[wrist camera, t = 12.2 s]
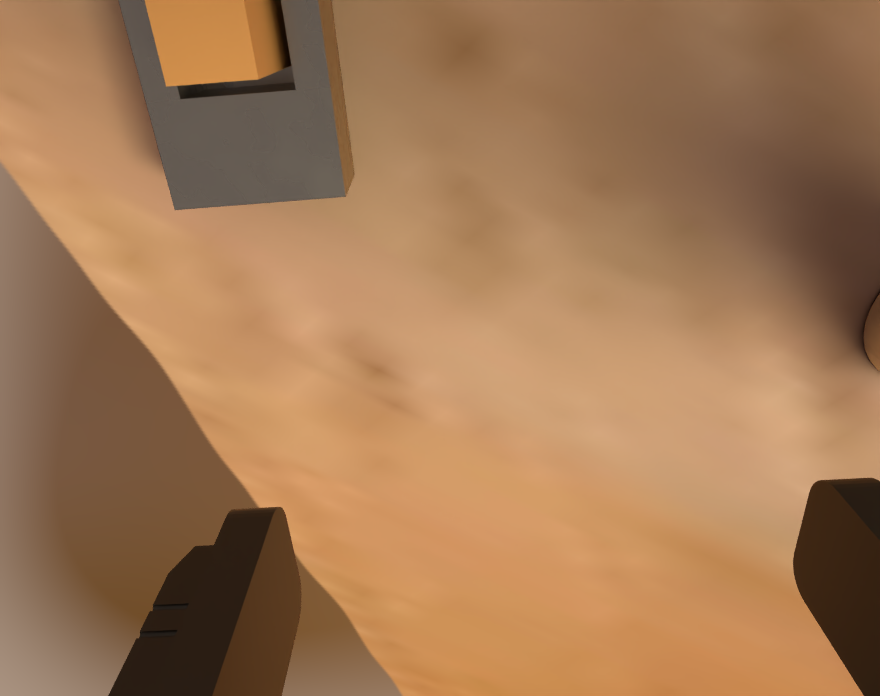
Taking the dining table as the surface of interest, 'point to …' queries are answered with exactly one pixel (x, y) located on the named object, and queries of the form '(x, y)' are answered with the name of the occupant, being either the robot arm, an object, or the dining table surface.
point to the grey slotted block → (252, 120)
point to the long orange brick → (218, 39)
